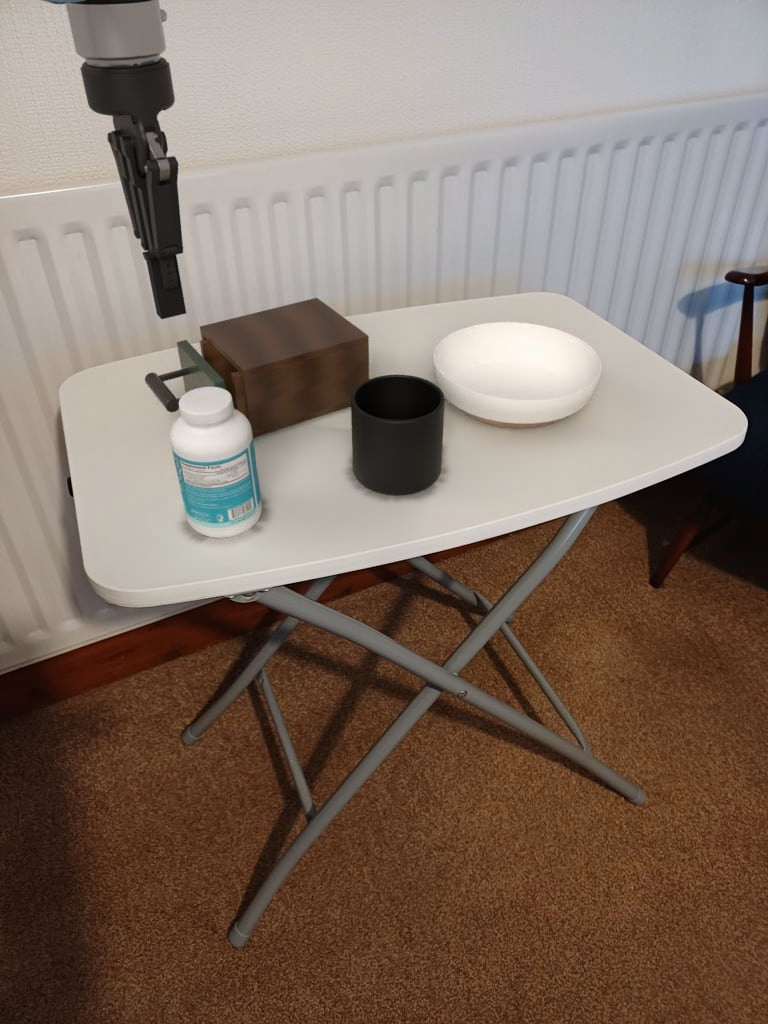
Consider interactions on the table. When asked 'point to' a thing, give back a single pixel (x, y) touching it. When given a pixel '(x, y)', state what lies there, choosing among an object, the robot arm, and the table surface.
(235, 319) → the cabinet
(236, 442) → the pill bottle
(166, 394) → the drawer
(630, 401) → the table surface
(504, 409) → the bowl
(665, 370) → the table surface
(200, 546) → the table surface
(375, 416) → the mug
